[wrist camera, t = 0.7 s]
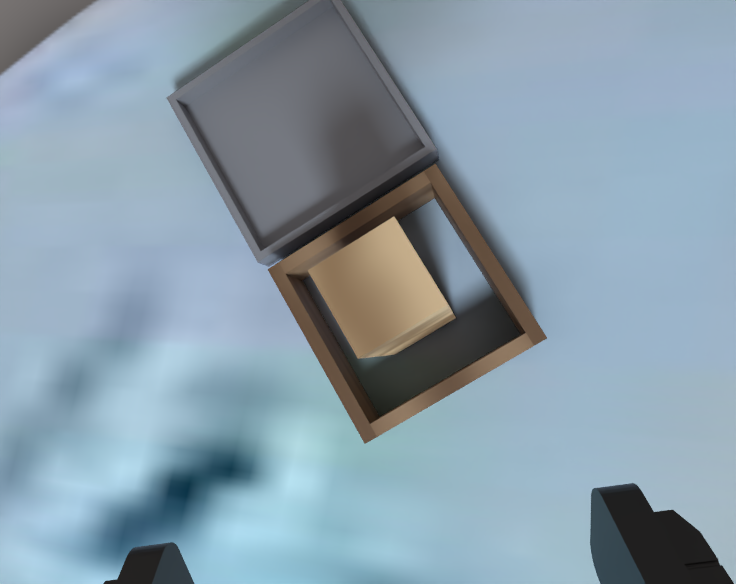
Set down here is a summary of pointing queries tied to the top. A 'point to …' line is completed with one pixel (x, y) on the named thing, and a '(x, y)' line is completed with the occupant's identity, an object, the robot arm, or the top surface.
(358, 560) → the top surface
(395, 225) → the oak peg
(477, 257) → the square wooden frame
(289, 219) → the tray
